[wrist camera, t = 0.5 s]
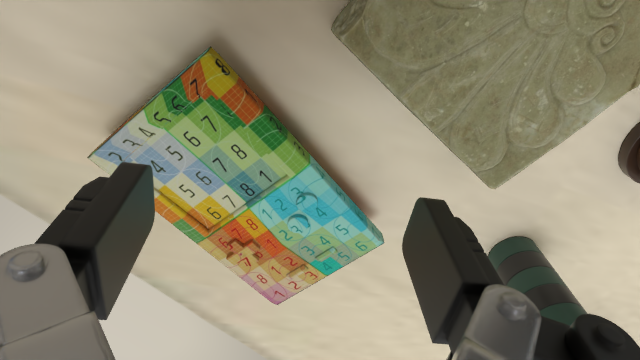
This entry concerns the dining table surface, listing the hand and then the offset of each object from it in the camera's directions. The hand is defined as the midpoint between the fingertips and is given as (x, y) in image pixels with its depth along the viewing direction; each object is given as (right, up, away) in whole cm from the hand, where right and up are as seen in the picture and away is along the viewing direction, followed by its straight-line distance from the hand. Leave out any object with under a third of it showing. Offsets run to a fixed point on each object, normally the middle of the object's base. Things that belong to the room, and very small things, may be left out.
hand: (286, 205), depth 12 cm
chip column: (+20, -7, +28) cm, 35 cm away
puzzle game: (-5, +1, +21) cm, 22 cm away
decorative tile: (+15, +13, +15) cm, 25 cm away
